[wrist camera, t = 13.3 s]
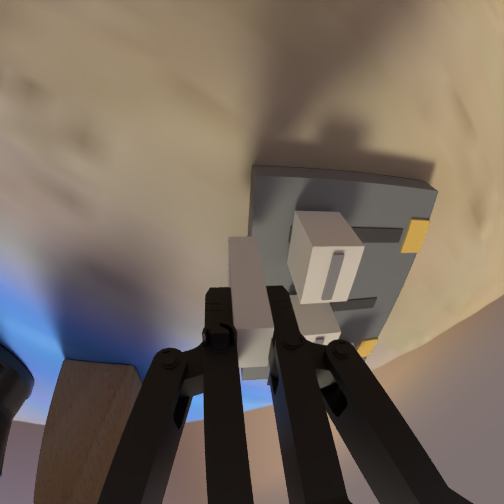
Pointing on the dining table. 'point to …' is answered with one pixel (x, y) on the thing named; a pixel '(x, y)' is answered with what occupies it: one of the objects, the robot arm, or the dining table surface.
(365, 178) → the console
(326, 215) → the slider
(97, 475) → the wooden block
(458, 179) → the dining table surface
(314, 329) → the slider
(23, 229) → the dining table surface
